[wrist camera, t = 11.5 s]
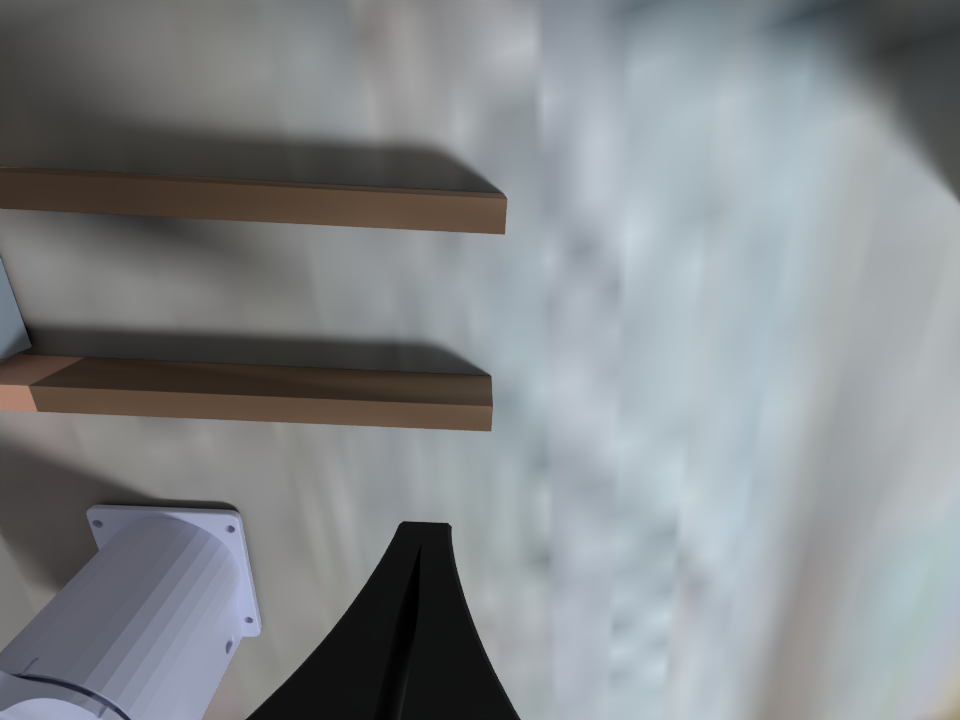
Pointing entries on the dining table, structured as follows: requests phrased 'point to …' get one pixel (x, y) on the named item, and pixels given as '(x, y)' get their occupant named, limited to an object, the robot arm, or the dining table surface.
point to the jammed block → (10, 321)
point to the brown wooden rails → (239, 385)
